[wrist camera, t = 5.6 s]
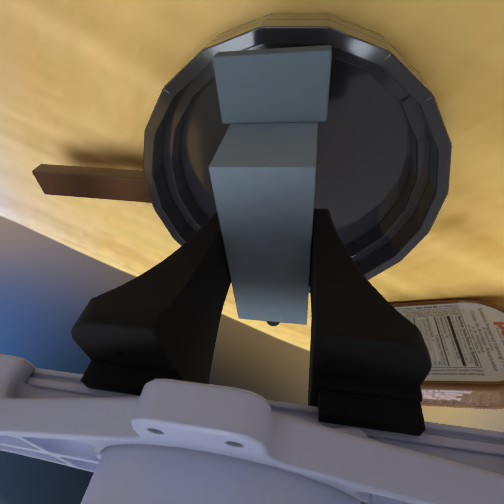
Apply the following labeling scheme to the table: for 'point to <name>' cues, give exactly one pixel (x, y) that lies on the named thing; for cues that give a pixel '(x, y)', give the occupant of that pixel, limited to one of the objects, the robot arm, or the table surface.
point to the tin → (461, 351)
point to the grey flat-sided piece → (269, 174)
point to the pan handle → (93, 182)
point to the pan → (328, 139)
